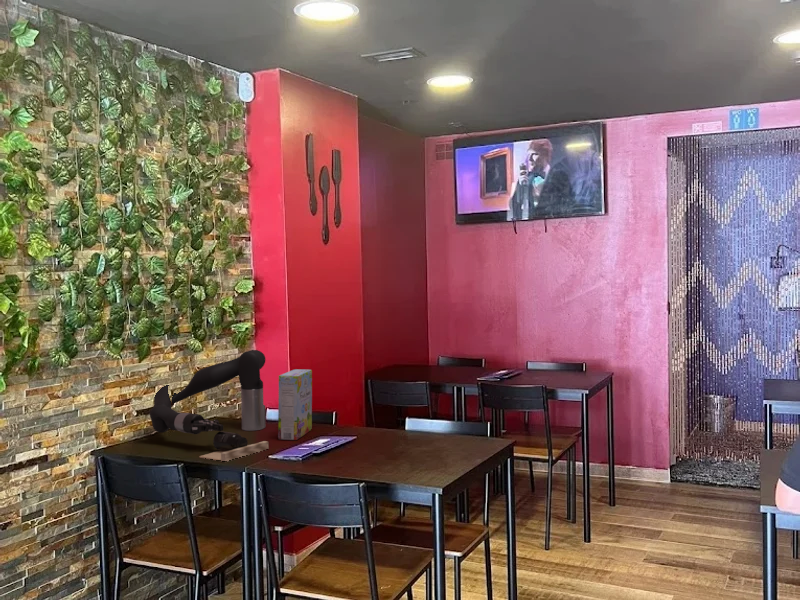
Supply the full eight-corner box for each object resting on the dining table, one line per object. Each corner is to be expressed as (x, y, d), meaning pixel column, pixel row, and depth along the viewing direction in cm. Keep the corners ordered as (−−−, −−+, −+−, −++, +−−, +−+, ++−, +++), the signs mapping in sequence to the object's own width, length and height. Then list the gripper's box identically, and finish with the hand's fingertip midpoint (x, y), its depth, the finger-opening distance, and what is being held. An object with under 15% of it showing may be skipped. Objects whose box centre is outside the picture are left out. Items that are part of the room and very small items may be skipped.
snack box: (298, 441, 303) (297, 375, 302) (277, 440, 305) (276, 375, 304) (313, 429, 325) (312, 368, 324) (293, 429, 326) (292, 368, 325)
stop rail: (264, 448, 291) (264, 440, 290) (268, 449, 289) (268, 441, 289) (221, 461, 272) (221, 452, 272) (225, 462, 271) (225, 453, 271)
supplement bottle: (215, 453, 287) (239, 457, 280) (210, 436, 284) (234, 440, 278) (227, 443, 292) (251, 447, 286) (223, 427, 290) (247, 431, 284)
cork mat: (243, 445, 297) (243, 444, 297) (264, 448, 291) (264, 447, 291) (199, 457, 278) (199, 456, 278) (221, 461, 272) (221, 460, 272)
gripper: (202, 429, 302) (234, 434, 293) (176, 436, 291) (208, 441, 282) (202, 410, 302) (234, 415, 292) (175, 416, 291) (208, 421, 281)
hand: (221, 428), depth 287 cm, fingers closed
